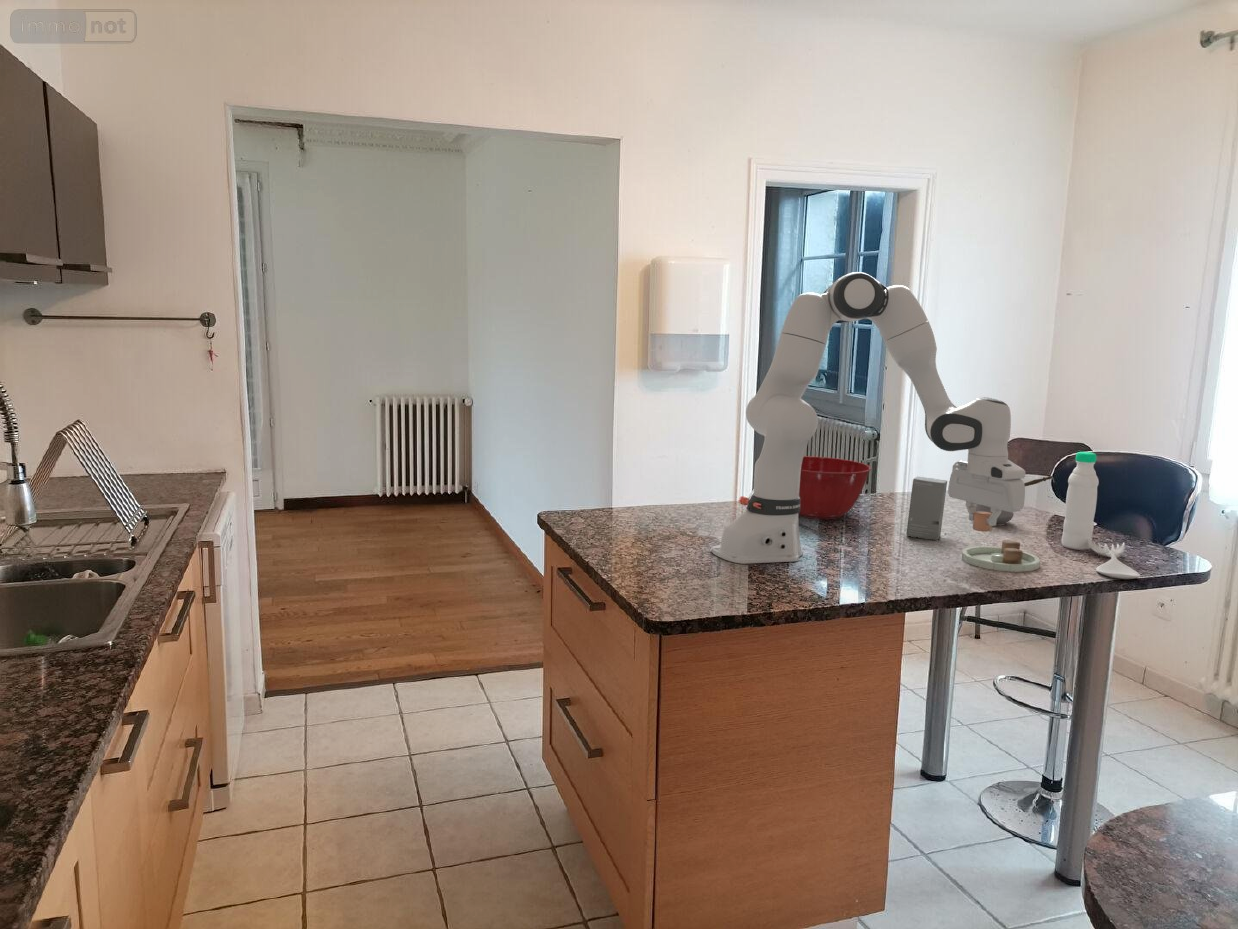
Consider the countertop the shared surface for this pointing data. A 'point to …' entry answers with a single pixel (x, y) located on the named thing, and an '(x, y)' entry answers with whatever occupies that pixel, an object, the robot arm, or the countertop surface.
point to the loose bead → (981, 521)
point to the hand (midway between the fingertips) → (982, 523)
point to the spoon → (1113, 562)
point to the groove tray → (997, 559)
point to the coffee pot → (1006, 515)
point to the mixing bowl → (830, 486)
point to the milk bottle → (1080, 503)
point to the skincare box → (926, 508)
